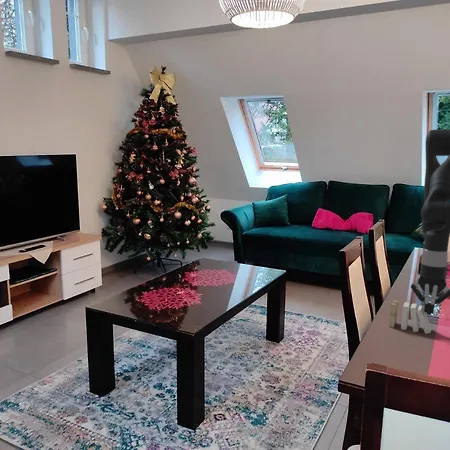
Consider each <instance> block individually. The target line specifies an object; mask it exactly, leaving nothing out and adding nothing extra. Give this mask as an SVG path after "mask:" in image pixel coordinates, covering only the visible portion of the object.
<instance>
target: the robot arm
mask: <svg viewBox="0 0 450 450" xmlns="http://www.w3.org/2000/svg"><path fill="white" fill-rule="evenodd" d="M446 156H447V158H446V159H445V161H443V162H442V163H441V164H440V162H439V160H438V158H437V157H446ZM424 175H425V177H424V188H423V190H424V191H423V193H424V194H423V204H422V208H421V210H420V217H421V232H422V234H423V235H424V238H423V239H424V241H423V248H422V253H421V255H422V259H421V270H420V274H419V277H418V279H417V281H416V282H413V283H411V285H410V288H411V290H412V291H413V293H414V294H415V295H416V297H417V298H418V300H419V301H420V302H423V303H424V307H423V308H424V312H425V313H426V315H429V316H432V315H433V314H434V313H435V305H438V304H442V303H443V302H444V301H445V300H447V298H448V297H450V287H449V286H447V282H446V275H447V269H448V268H447V266H448V260H449V259H448V250H449V242H450V241H449V240H450V128H449V129H448V128H447V129H431V130H429V131H428V132H427V133H426V137H425V174H424ZM422 293H424V294H422ZM430 295H431V298H430ZM437 295H440V296H439V297H437Z"/></svg>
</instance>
